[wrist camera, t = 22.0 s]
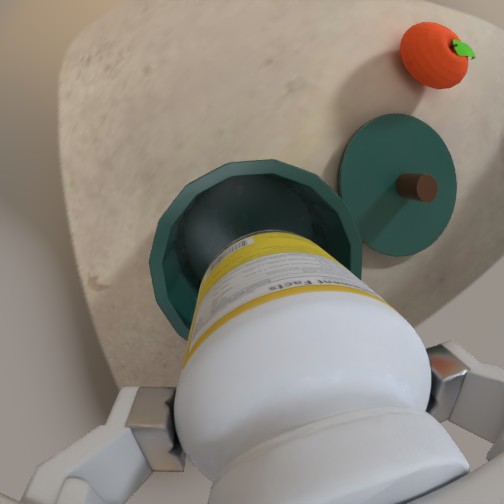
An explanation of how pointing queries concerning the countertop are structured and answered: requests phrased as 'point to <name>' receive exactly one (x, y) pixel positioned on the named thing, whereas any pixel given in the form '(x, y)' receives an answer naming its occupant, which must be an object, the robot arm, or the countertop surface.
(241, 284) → the pill bottle
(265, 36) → the countertop surface
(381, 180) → the lid
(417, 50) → the clementine
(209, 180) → the tin
